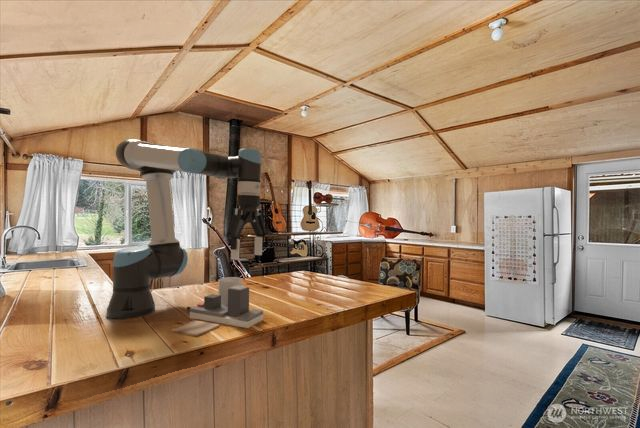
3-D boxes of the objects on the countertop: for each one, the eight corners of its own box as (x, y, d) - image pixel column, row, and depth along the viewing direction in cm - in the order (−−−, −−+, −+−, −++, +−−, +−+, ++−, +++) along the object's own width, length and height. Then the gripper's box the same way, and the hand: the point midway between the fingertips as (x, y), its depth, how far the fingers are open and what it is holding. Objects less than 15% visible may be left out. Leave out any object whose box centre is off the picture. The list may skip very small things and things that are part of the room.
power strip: (189, 317, 113) (190, 297, 113) (207, 310, 121) (208, 291, 121) (247, 328, 104) (248, 305, 104) (263, 319, 112) (263, 298, 112)
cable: (202, 313, 118) (202, 310, 118) (200, 313, 117) (200, 311, 117) (188, 308, 124) (188, 306, 124) (186, 308, 123) (186, 306, 123)
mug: (243, 310, 123) (244, 280, 123) (219, 312, 119) (219, 282, 119) (239, 302, 134) (239, 275, 134) (216, 304, 130) (217, 276, 131)
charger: (227, 316, 109) (228, 288, 109) (236, 312, 114) (237, 285, 114) (239, 318, 107) (240, 289, 107) (248, 313, 112) (249, 286, 112)
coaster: (171, 331, 99) (171, 329, 99) (195, 321, 109) (195, 320, 109) (196, 336, 96) (196, 334, 96) (219, 326, 105) (219, 324, 105)
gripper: (235, 192, 98) (233, 262, 98) (276, 197, 121) (275, 254, 121) (215, 192, 101) (213, 260, 101) (259, 196, 124) (257, 252, 124)
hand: (247, 257), depth 111 cm, fingers open, 13 cm apart
